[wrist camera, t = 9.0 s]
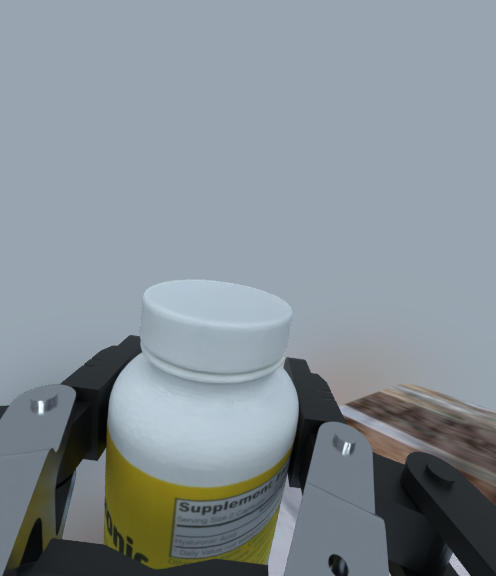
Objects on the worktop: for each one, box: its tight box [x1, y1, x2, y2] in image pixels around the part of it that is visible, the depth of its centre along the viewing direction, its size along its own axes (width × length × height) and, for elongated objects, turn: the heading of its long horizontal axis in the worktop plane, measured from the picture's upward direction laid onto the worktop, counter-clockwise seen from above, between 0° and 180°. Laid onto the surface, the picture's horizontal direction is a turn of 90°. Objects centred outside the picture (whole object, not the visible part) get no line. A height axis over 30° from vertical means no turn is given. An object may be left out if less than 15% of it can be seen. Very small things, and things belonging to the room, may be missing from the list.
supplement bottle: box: [104, 280, 299, 569], centre depth 8 cm, size 5×5×10 cm
